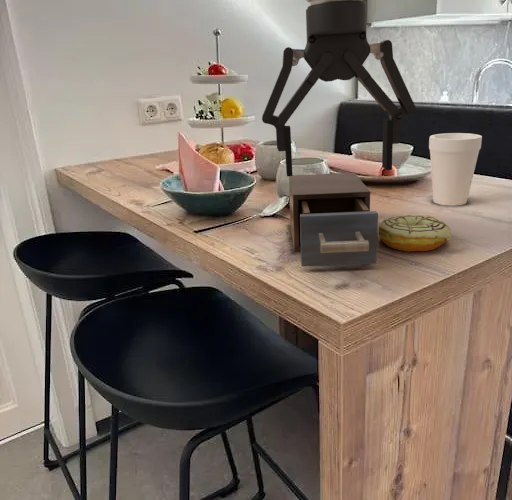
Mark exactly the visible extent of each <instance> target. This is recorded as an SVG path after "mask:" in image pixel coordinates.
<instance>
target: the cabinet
mask: <svg viewBox="0 0 512 500" xmlns="http://www.w3.org/2000/svg"><path fill="white" fill-rule="evenodd" d="M292 175H293V176H288V185H289V186H288V187H289V188H288V189H289V225H290V231H291V237H292V238H291V239H292V245H293V251H294V252H301V239H300V200H304V199H328V198H351V197H360V198H361V199H362V201H363V202H364V204H365V205H366V206H367V208H368V209H369V211H371V191H370V189H369V188H368V187H367V186H366V185H365V184H364V182H363V181H362V180H361V179H360V178H359V176H358V175H357V173H355V172H337V173H336V172H335V173H334V172H333V173H315V174H314V173H313V174H311V173H310V174H292Z"/></svg>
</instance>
